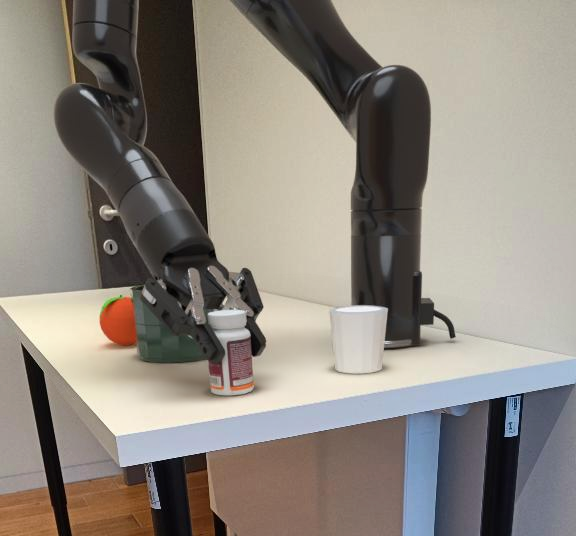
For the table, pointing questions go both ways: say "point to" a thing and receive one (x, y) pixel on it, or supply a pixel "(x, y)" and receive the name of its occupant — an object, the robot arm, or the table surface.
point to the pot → (160, 335)
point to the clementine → (118, 320)
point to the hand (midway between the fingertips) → (240, 355)
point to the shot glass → (358, 338)
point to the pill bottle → (231, 354)
